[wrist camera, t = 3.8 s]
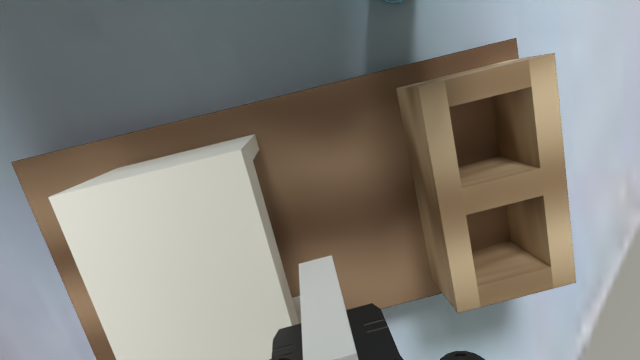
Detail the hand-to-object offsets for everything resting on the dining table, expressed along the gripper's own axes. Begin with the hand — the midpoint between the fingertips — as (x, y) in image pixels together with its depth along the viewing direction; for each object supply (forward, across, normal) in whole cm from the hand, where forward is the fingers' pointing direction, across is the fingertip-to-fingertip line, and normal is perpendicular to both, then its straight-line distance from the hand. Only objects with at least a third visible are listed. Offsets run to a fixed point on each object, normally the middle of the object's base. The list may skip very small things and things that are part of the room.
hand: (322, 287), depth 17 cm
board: (+6, 0, +2) cm, 7 cm away
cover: (+4, -5, +2) cm, 7 cm away
